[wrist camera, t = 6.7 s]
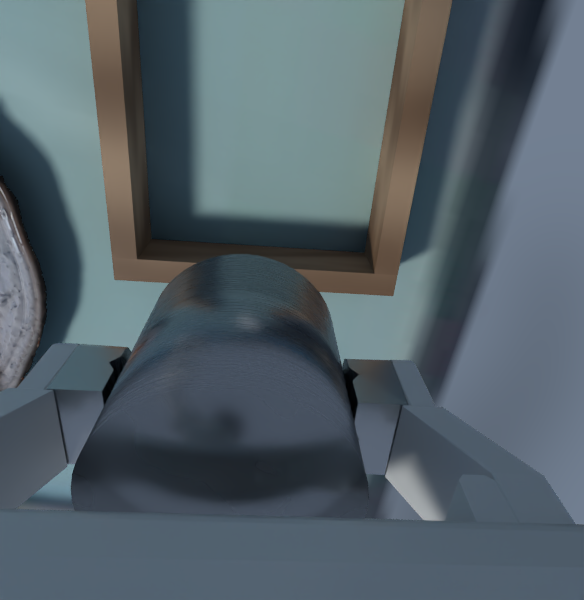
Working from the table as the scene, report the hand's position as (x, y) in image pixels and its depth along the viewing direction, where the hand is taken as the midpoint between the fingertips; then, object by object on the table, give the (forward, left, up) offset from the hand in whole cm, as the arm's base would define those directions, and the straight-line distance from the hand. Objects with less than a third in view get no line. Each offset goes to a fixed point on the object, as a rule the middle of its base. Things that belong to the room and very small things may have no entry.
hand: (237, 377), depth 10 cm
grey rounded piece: (0, 0, -2) cm, 2 cm away
